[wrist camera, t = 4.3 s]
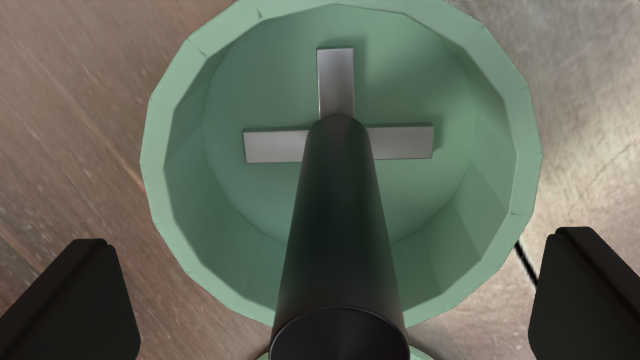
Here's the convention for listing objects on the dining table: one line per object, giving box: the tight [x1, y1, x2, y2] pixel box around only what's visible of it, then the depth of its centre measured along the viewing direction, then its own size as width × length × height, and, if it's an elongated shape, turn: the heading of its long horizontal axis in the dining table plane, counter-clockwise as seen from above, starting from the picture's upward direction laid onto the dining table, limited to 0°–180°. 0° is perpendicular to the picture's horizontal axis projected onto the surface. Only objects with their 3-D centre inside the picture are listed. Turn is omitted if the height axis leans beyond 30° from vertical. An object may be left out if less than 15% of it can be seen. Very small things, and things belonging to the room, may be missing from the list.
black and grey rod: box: [242, 45, 434, 360], centre depth 13 cm, size 8×8×12 cm
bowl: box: [139, 0, 543, 329], centre depth 17 cm, size 13×13×5 cm
